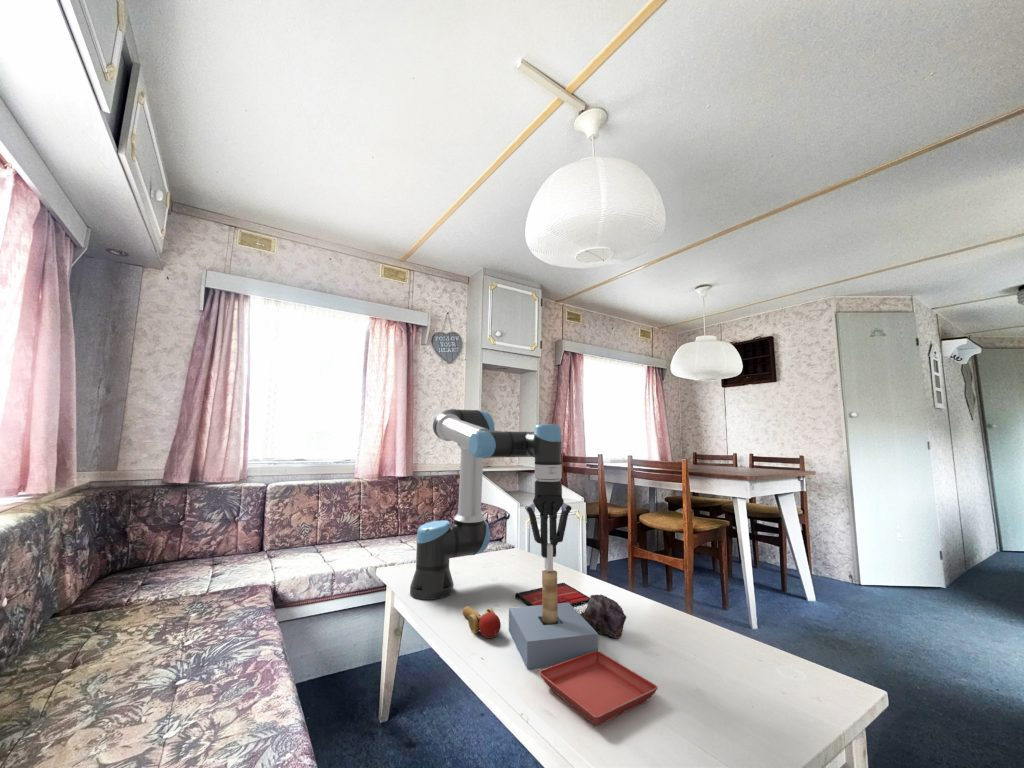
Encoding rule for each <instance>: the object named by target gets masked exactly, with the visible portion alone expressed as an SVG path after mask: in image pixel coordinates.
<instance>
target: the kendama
mask: <svg viewBox="0 0 1024 768" xmlns="http://www.w3.org/2000/svg"><path fill="white" fill-rule="evenodd" d="M462 615H463V617H465V618H467V620H468V621H467V622H468V626H469V629H470V631H471V633H472V634H479V633H480V634H481V636H483V637H484V638H487V639H491V638H496V636H497V635H498V634H499V632H500V630H501V627H502V626H501V619H500V617H499V616H498V615H497V614H496V612H495V611H494V609H493V608H491V607H490V608H487V609H486V611H485V613H484V614H480V613H479V612H477V610H475V609H474V608H472V607H471V606H468V605H467V606H465V607H463V610H462Z"/></svg>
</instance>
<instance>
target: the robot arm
mask: <svg viewBox="0 0 1024 768" xmlns="http://www.w3.org/2000/svg"><path fill="white" fill-rule="evenodd" d="M432 429H433V430H432V431H433V433H434V434H435V436H436V437H437V438H439V439H441V440H442V441H445V442H454V443H456V444H457V446H458V447H459V448H460V466H459V468H460V469H459V484H458V485H459V486H458V487H459V489H458V505H457V506H458V508H457V510H458V511H457V513H456V515H454V516H453V523H451V522H450V521H449V520H444V519H442V520H432V521H429V522H426V523H424V524H422V525H420V526H419V527H418V529H417V532H416V533H417V536H416V539H415V541H416V551H415V553H416V558H415V559H416V560H415V561H416V562H415V570H414V571H415V572H414V575H413V578H412V580H411V582H410V586H409V588H410V589H409V594H410V596H411V597H412V598H415V599H418V600H438V599H442V598H446V597H448V596H450V595H452V594H453V593H454V589H455V588H454V587H455V586H454V580H453V577H452V573H451V571H450V559H454V558H460V557H461V558H462V557H466V556H475V555H478V554H481V553H483V552H484V551H486V550H487V548H488V546H489V543H490V539H491V531H490V525H489V524H488V522H487V521H486V520H485V517H484V515H482V498H483V497H482V495H483V493H482V492H483V471H484V470H483V469H484V459H490V458H491V459H492V458H494V459H495V458H534V479H535V481H534V497H533V500H532V503H531V504H529V505H526V506H524V510H525V511H526V512H527V514H528V518H529V522H530V526H531V527H530V528H531V530H532V535H533V539H534V541H535V543H537V544H539V545H540V547H541V548H540V550H541V551H540V554H541V557H543V559H544V570H547V571H553V570H554V558H556V557H557V545H558V543H559V544H560V543H562V542H563V541H564V536H565V531H566V526H567V522H568V517H569V514H570V512H571V510H572V509H573V508H572V506H571V505H569V504H567V503H565V501H564V497H563V482H562V481H561V480H562V478H563V477H562V476H563V474H562V472H563V471H562V470H563V469H562V468H563V467H562V450H563V449H562V447H563V446H562V444H563V443H562V440H563V438H562V428H561V426H560V425H559V424H554V423H552V424H551V423H539V424H538V423H537V424H536V425H534V429H533V430H534V431H501V430H495V423H494V419H493V416H491V414H490V413H489V412H488V411H485V410H479V409H455V408H451V409H450V408H449V409H446V410H444V411H443V410H442V411H441V412H440V413H438V414H437V415H436V416H435V418H434V420H433V422H432ZM560 509H561V512H560V516H559V520H558V523H557V519H558V512H559V511H560ZM536 510H537V511H538V512H539V517H540V529H539V525H538V521H537V516H536V514H535V512H536ZM548 519H549V521H548ZM548 522H549V532H548ZM557 524H558V526H557ZM539 530H540V531H539ZM548 533H549V534H548ZM548 535H549V541H548Z"/></svg>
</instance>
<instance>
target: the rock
mask: <svg viewBox="0 0 1024 768" xmlns="http://www.w3.org/2000/svg"><path fill="white" fill-rule="evenodd" d="M589 597H590V599H589V602H588V603H587V605H586V608H584V611H581V613H580V615H581V616H582V617H583V618H584V619H585V620H586V621H587V622H588V624H589V625H590V626H591V627H592V628H593V629H594V630H595V631H596V632H597V633H598V634H601V635H608V636H609V637H610V638H613V639H620V638H621V637H622V635H623V631H624V625H625V621H626V619H627V615H626V614H625V613H624V610H623V608H622V606H621V605H620V604H619V602H617V601H615V600H614V599H611V598H610V597H608V596H606V595H603V594H591V595H590V596H589Z"/></svg>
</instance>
